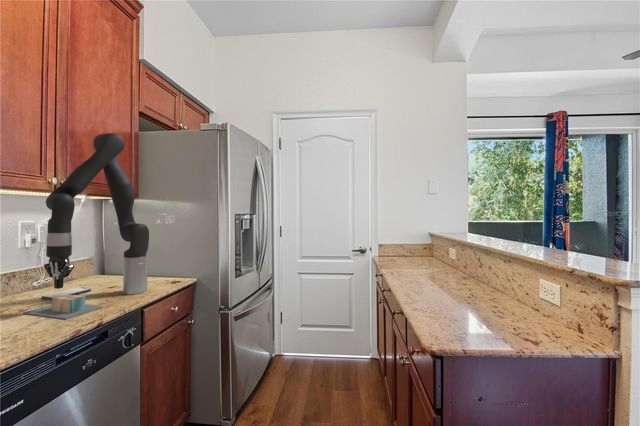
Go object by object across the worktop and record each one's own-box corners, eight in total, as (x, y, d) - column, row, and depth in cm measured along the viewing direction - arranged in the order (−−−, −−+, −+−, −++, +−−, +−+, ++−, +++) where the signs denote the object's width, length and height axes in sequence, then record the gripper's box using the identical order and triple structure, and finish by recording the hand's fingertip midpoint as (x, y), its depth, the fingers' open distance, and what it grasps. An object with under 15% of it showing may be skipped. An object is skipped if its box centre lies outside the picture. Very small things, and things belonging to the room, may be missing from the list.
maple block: (65, 294, 118) (85, 296, 116) (65, 306, 118) (85, 308, 116) (51, 297, 113) (71, 299, 111) (51, 310, 113) (71, 313, 111)
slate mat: (63, 302, 124) (63, 301, 124) (103, 307, 120) (103, 306, 120) (22, 313, 111) (22, 312, 111) (66, 319, 106) (66, 318, 106)
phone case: (53, 301, 127) (92, 291, 143) (53, 298, 127) (92, 288, 143) (40, 299, 130) (79, 290, 145) (40, 296, 130) (79, 286, 145)
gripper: (82, 244, 118) (81, 287, 118) (57, 242, 121) (56, 284, 121) (61, 246, 111) (61, 292, 111) (35, 244, 114) (35, 289, 114)
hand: (58, 288), depth 116 cm, fingers closed
